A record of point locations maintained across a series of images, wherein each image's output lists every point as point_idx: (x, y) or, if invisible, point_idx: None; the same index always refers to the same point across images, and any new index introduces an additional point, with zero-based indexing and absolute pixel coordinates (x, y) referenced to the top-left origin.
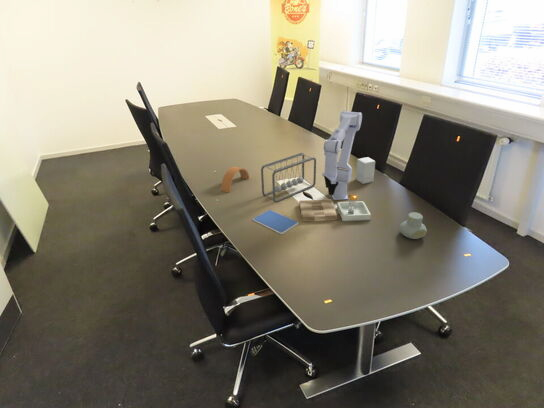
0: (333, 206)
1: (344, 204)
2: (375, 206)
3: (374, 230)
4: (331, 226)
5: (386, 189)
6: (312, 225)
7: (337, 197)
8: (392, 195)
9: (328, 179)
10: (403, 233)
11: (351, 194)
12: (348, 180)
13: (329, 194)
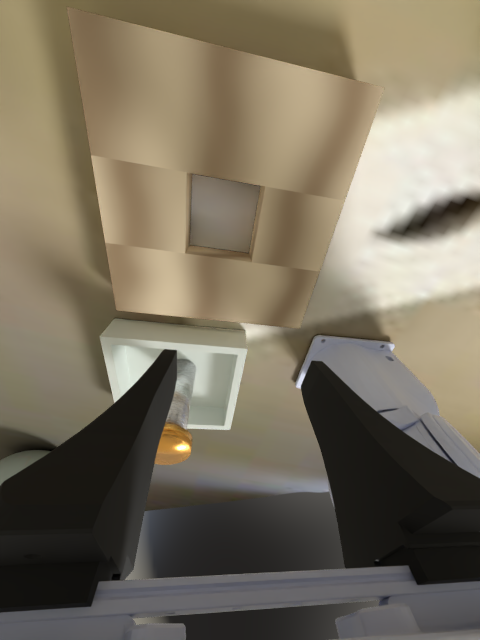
0: (218, 319)
1: (234, 367)
2: (220, 434)
3: (54, 397)
4: (54, 251)
5: (309, 471)
6: (43, 118)
7: (318, 356)
8: (271, 473)
9: (346, 455)
10: (3, 461)
11: (186, 450)
12: (328, 484)
13: (160, 355)
